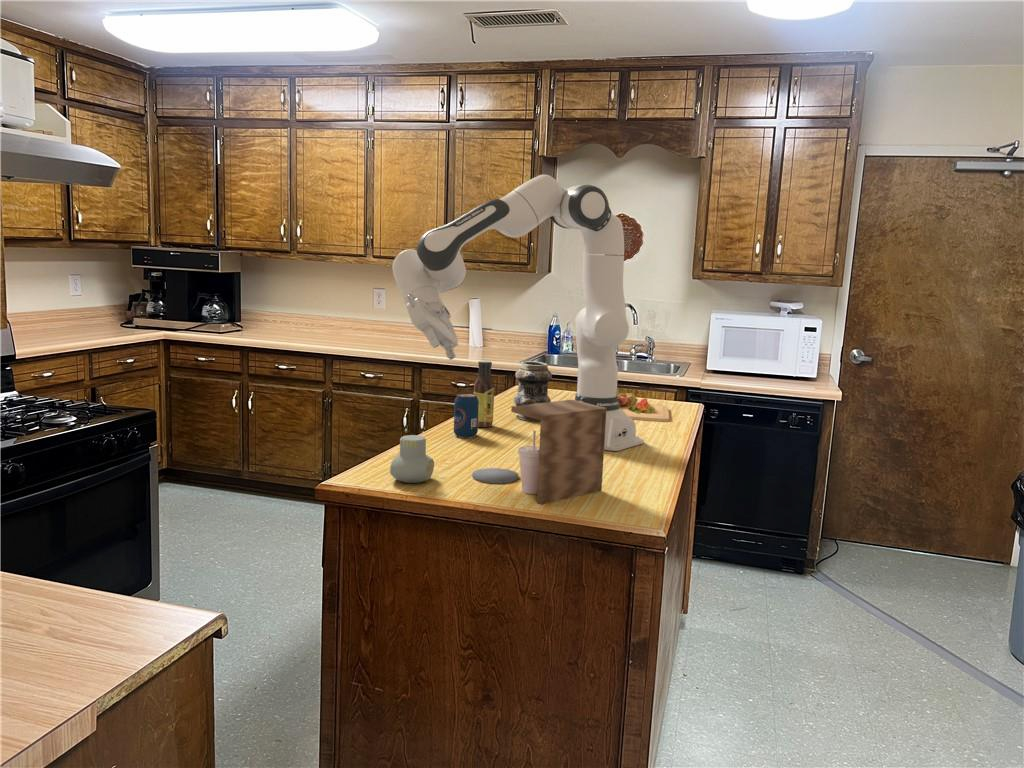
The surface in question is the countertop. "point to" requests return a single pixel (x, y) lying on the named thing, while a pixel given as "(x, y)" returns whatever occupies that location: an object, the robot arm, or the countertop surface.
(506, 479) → the coaster
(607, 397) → the robot arm
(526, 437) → the countertop surface
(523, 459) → the smoothie
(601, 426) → the shelf
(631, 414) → the cutting board
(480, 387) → the sauce bottle
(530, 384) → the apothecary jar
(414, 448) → the air freshener
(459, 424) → the soda can
